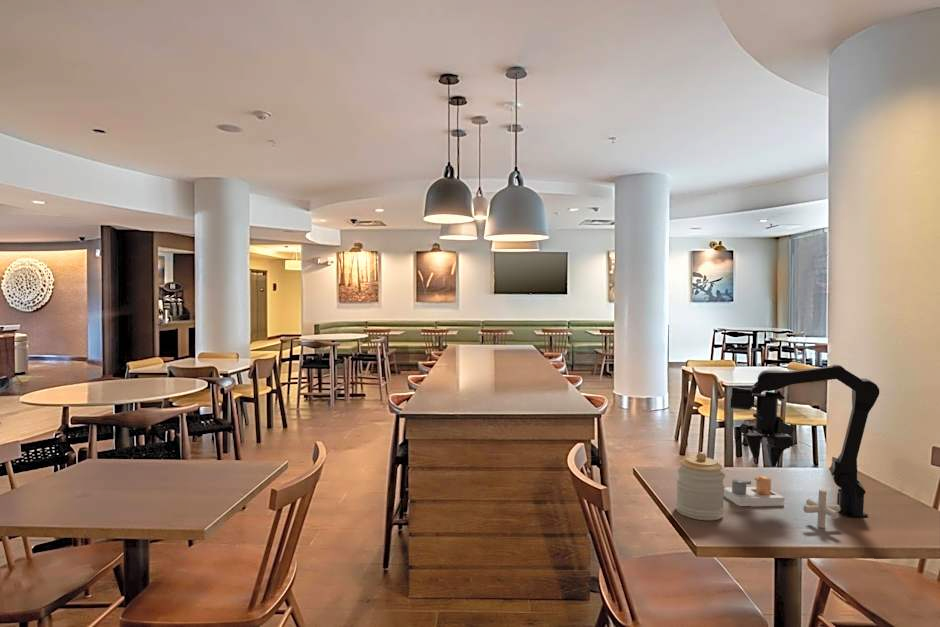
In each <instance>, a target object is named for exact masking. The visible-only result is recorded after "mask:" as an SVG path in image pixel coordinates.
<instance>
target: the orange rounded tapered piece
mask: <svg viewBox="0 0 940 627" xmlns="http://www.w3.org/2000/svg"><path fill="white" fill-rule="evenodd" d="M754 481H755V482H756V484H755V487H756V493H757V494H759V495H770V494H771V491H772V489H771V488H772V478H771V477H769V476H766V475H757V476H755V477H754Z"/></svg>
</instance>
